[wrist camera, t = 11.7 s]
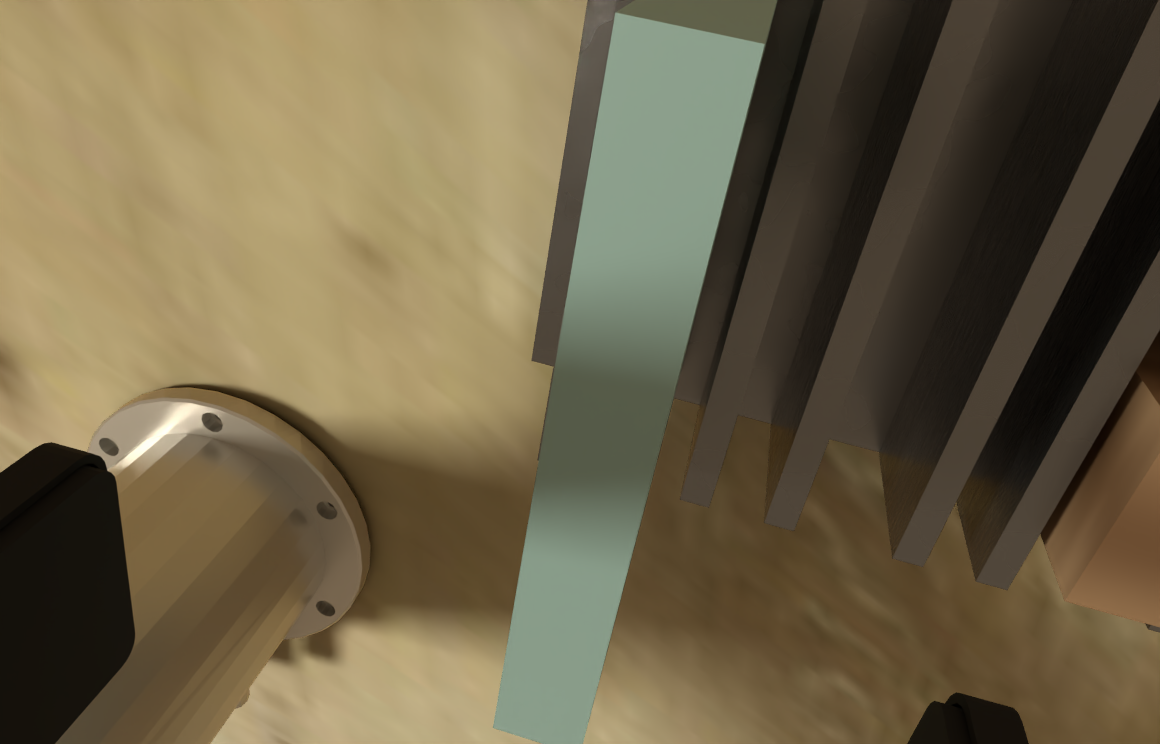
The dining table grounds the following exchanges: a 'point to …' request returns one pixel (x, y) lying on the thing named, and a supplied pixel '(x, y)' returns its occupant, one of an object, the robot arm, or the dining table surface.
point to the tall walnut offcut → (1115, 509)
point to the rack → (919, 254)
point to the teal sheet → (624, 337)
